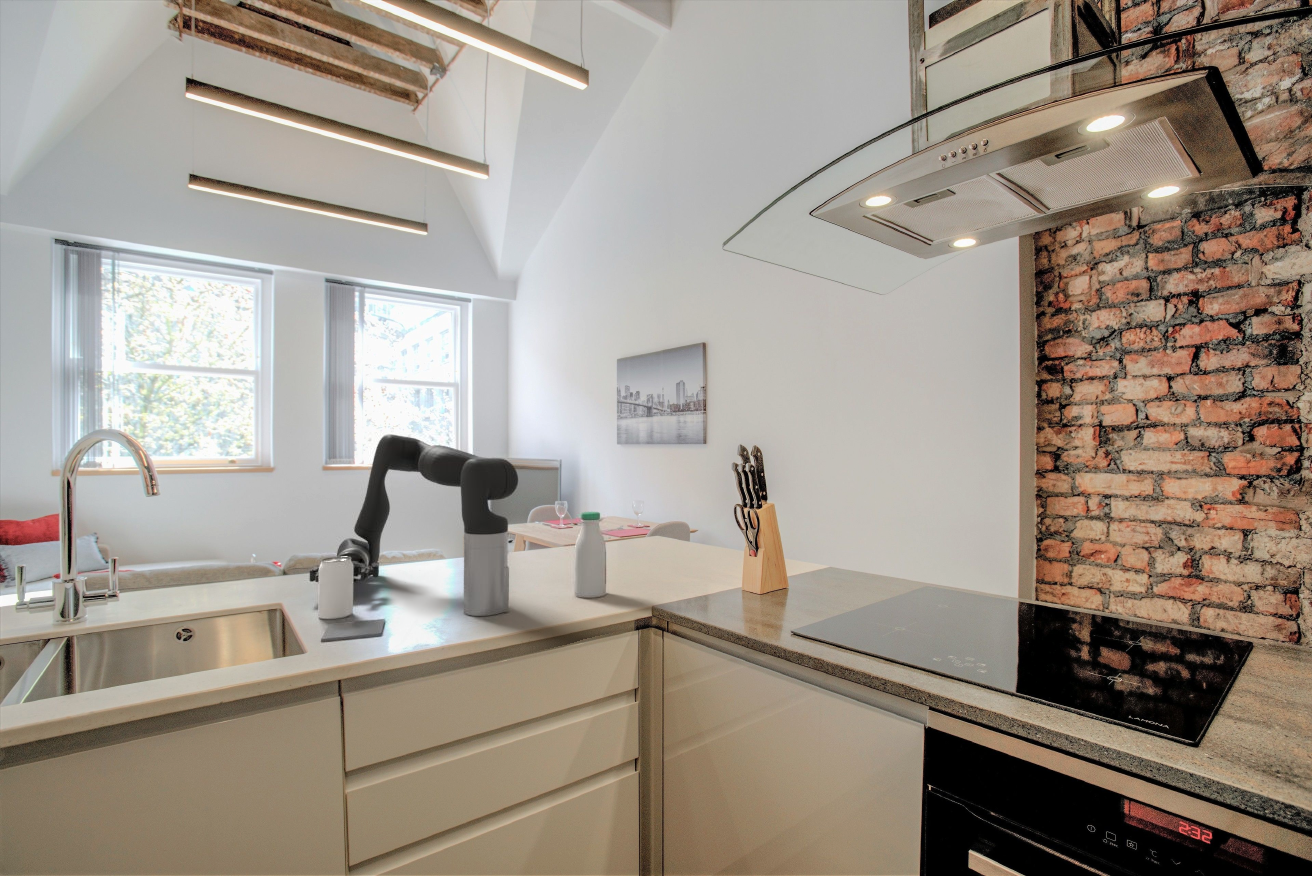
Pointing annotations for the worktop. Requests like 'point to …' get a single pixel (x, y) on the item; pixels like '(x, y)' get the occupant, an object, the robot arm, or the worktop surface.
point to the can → (335, 588)
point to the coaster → (353, 630)
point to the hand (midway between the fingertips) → (341, 577)
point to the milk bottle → (590, 558)
